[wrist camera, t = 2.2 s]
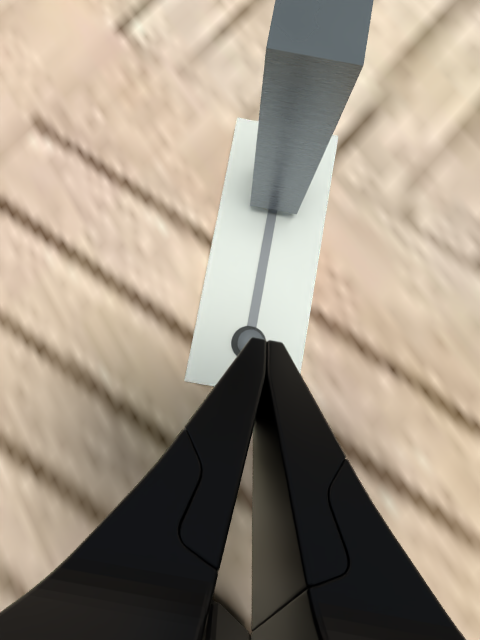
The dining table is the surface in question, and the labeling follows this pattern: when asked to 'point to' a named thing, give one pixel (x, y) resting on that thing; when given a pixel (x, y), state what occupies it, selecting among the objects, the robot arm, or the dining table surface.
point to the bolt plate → (258, 266)
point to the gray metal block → (304, 93)
